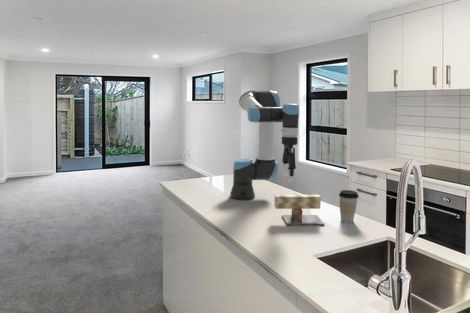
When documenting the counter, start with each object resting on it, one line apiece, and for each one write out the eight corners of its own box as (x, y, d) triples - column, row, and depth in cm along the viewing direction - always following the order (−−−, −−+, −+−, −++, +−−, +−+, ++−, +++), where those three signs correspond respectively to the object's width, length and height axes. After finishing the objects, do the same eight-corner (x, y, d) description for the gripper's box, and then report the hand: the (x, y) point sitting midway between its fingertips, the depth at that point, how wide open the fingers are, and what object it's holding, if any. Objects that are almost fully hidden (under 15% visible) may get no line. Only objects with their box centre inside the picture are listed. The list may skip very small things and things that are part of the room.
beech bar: (275, 208, 184) (276, 196, 183) (274, 206, 188) (274, 194, 187) (320, 208, 185) (320, 196, 184) (317, 206, 189) (318, 194, 188)
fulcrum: (287, 225, 180) (287, 211, 179) (281, 216, 194) (282, 203, 193) (324, 225, 181) (325, 211, 180) (316, 216, 195) (317, 203, 194)
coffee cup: (341, 217, 195) (342, 188, 193) (359, 220, 190) (361, 191, 188) (334, 221, 187) (336, 192, 185) (353, 225, 182) (355, 195, 180)
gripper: (277, 133, 193) (276, 174, 196) (287, 139, 168) (285, 185, 172) (292, 133, 193) (290, 174, 197) (303, 139, 169) (301, 185, 172)
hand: (287, 179), depth 184 cm, fingers open, 13 cm apart
